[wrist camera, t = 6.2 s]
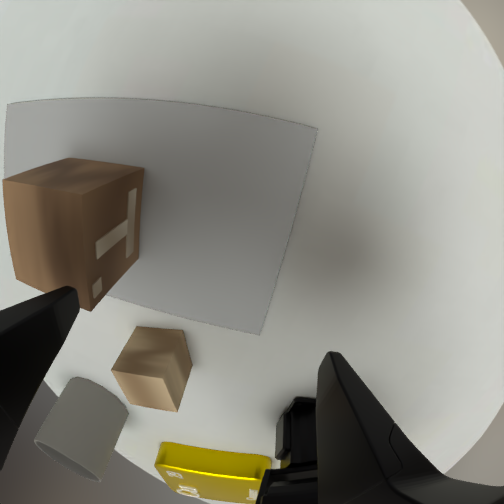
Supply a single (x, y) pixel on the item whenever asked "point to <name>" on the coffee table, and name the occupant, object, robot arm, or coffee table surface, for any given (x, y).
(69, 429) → the cup
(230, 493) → the element tile
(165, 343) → the oak block
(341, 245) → the coffee table surface
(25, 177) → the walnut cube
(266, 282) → the rubber mat
